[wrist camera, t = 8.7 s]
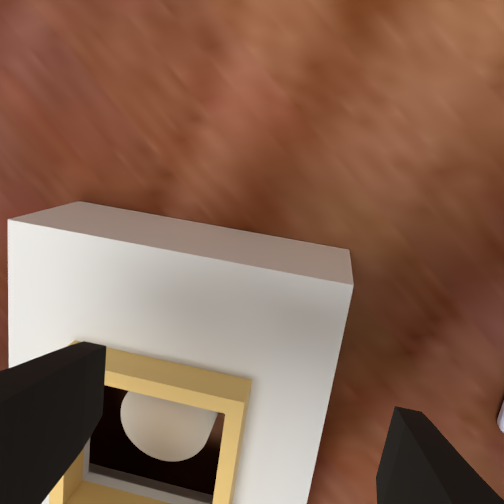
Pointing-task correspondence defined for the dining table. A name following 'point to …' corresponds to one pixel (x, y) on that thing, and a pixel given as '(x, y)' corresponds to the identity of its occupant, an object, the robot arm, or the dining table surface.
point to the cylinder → (165, 426)
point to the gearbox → (188, 337)
